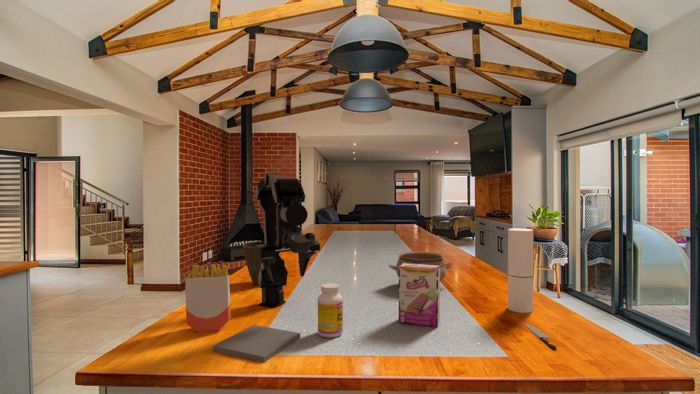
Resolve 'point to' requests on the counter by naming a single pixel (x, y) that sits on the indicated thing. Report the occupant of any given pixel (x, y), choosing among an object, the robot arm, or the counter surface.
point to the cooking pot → (422, 261)
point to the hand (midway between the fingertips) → (288, 279)
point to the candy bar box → (419, 294)
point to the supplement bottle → (330, 311)
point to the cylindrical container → (520, 270)
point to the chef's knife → (540, 335)
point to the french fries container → (207, 299)
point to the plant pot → (253, 261)
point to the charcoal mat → (257, 343)
